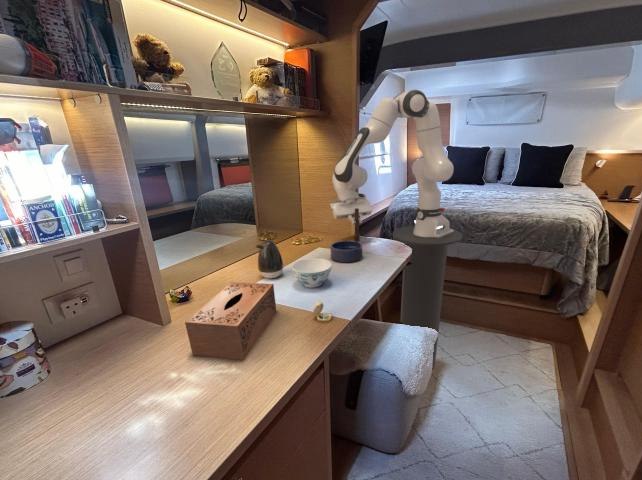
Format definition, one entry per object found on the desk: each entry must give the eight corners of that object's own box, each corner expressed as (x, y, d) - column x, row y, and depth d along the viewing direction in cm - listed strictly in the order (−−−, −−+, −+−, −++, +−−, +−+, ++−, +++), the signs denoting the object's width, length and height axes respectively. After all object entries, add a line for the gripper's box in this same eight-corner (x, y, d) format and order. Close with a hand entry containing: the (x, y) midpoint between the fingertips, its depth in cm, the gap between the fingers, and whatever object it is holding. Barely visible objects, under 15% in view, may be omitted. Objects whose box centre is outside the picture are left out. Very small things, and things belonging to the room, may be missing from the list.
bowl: (350, 250, 165) (350, 238, 162) (368, 258, 153) (368, 246, 151) (325, 256, 158) (324, 244, 156) (342, 265, 147) (341, 252, 144)
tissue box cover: (235, 309, 113) (231, 281, 109) (276, 311, 110) (273, 283, 106) (192, 354, 90) (184, 322, 86) (243, 359, 87) (237, 326, 83)
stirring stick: (357, 239, 170) (357, 207, 164) (361, 241, 168) (361, 208, 161) (352, 240, 169) (352, 208, 162) (355, 242, 166) (355, 209, 160)
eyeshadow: (325, 323, 102) (324, 308, 100) (312, 318, 105) (311, 304, 103) (333, 317, 105) (333, 303, 104) (321, 313, 108) (320, 299, 106)
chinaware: (339, 286, 127) (339, 267, 124) (303, 295, 120) (301, 275, 117) (321, 273, 139) (320, 255, 136) (287, 281, 133) (285, 263, 130)
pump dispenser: (254, 276, 139) (249, 240, 133) (275, 269, 145) (272, 235, 139) (267, 283, 132) (262, 246, 126) (289, 276, 138) (285, 240, 132)
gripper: (330, 198, 162) (339, 222, 158) (368, 194, 169) (377, 217, 165) (327, 205, 168) (336, 229, 163) (363, 201, 175) (373, 224, 170)
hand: (357, 223), depth 164 cm, fingers closed on stirring stick, 2 cm apart
